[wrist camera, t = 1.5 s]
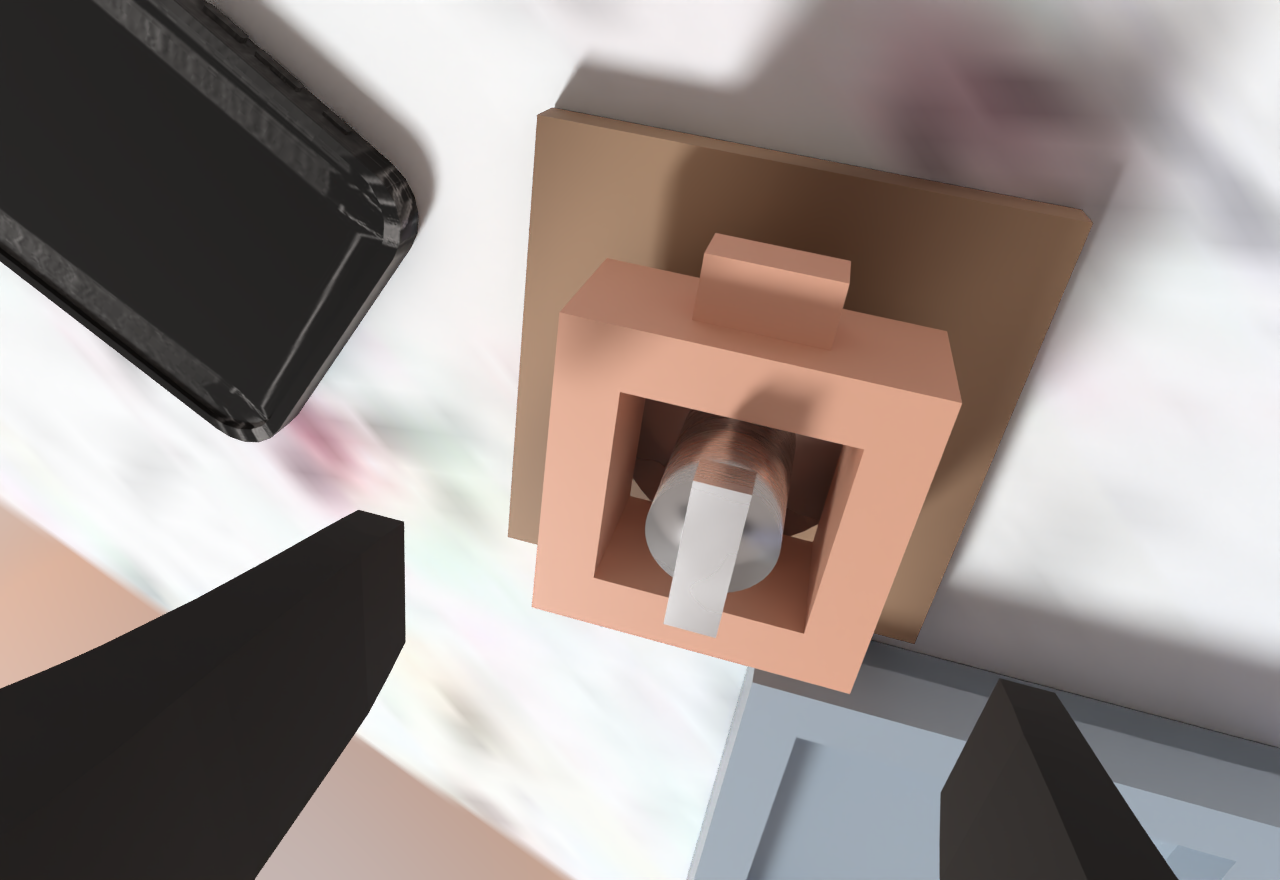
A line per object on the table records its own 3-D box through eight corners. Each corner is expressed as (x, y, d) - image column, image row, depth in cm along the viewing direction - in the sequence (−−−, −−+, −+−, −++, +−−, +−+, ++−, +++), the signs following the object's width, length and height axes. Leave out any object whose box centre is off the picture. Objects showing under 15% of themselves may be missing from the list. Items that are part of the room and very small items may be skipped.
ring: (969, 269, 13) (988, 333, 10) (852, 596, 16) (849, 693, 14) (613, 196, 13) (565, 242, 11) (574, 524, 17) (531, 607, 15)
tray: (1286, 750, 18) (1335, 843, 16) (1072, 1012, 24) (1090, 1102, 22) (763, 612, 19) (752, 682, 17) (683, 891, 25) (668, 966, 23)
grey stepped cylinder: (898, 327, 14) (910, 471, 10) (833, 529, 17) (821, 712, 13) (650, 273, 15) (570, 390, 11) (619, 477, 17) (543, 635, 13)
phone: (258, 460, 20) (-356, -12, 17) (286, 437, 20) (-291, -13, 18) (425, 210, 16) (-345, -455, 13) (451, 195, 16) (-263, -427, 14)
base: (1081, 209, 14) (1093, 222, 13) (912, 618, 18) (914, 643, 18) (552, 107, 15) (537, 114, 14) (520, 516, 19) (507, 537, 19)
